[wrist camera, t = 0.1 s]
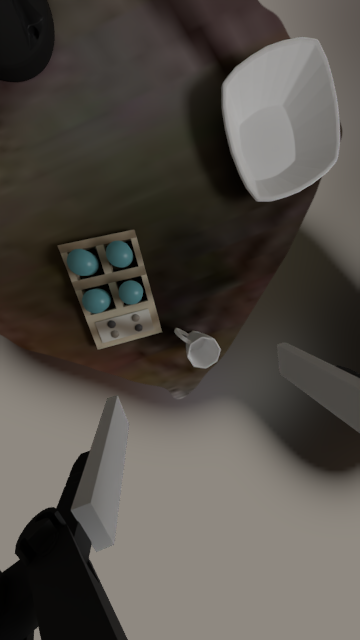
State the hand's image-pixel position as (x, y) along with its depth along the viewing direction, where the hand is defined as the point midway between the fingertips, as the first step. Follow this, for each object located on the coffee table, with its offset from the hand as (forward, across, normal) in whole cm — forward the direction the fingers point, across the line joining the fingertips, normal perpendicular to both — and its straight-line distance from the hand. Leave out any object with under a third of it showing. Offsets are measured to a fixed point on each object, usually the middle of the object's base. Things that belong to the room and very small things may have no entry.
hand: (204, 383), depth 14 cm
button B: (+26, -6, +14) cm, 30 cm away
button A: (+26, -12, +14) cm, 32 cm away
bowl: (+28, +28, +28) cm, 49 cm away
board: (+28, -9, +7) cm, 30 cm away
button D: (+26, -6, +7) cm, 27 cm away
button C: (+26, -12, +7) cm, 30 cm away
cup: (+28, +4, -7) cm, 29 cm away
